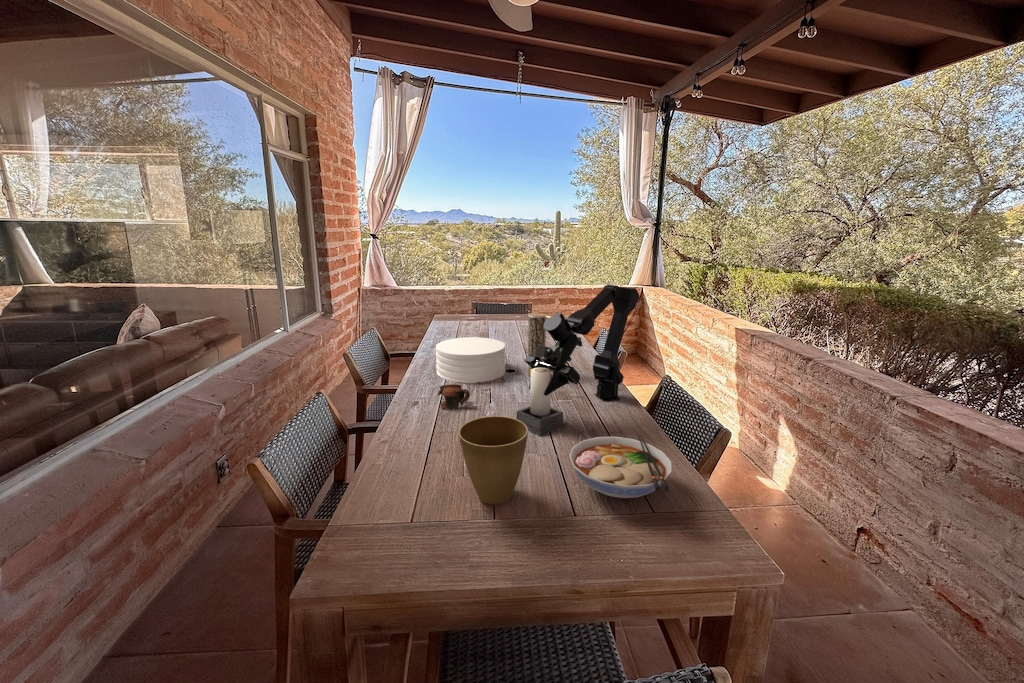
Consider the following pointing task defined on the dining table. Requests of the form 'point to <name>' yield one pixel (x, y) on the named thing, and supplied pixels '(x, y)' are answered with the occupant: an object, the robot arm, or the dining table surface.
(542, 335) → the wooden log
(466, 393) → the pottery mug
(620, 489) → the ramen bowl
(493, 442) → the plant pot
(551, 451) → the dining table surface
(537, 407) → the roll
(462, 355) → the plate stack
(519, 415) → the holder
